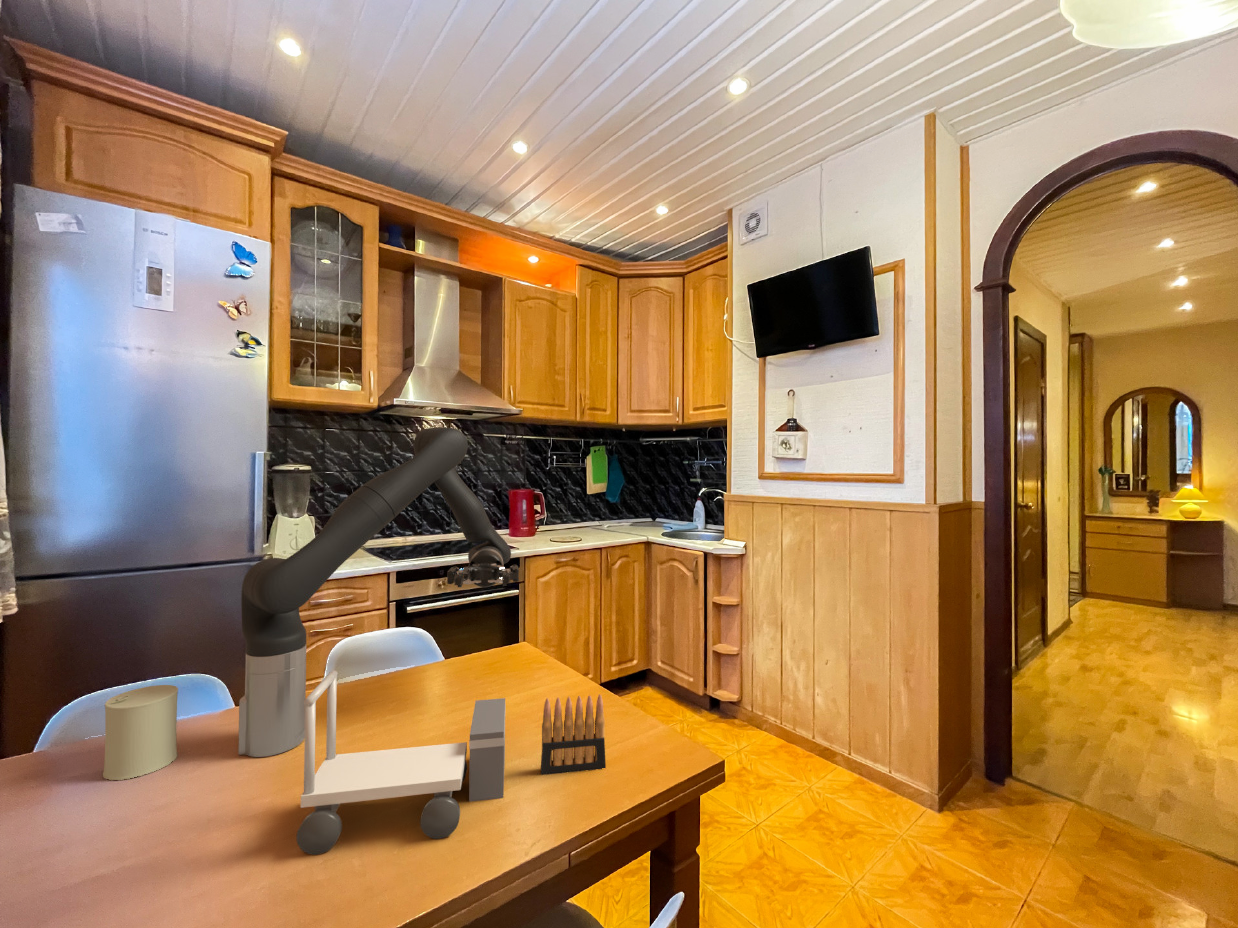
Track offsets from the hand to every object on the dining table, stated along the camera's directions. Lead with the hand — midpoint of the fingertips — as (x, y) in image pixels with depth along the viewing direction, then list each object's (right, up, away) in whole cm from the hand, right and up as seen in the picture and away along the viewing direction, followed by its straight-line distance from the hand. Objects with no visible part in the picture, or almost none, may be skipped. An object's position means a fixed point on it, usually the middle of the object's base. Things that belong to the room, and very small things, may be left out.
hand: (482, 581), depth 102 cm
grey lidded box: (+6, -28, -18) cm, 33 cm away
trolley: (-6, -28, -27) cm, 39 cm away
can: (-53, -28, -14) cm, 62 cm away
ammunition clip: (+19, -28, -15) cm, 37 cm away
